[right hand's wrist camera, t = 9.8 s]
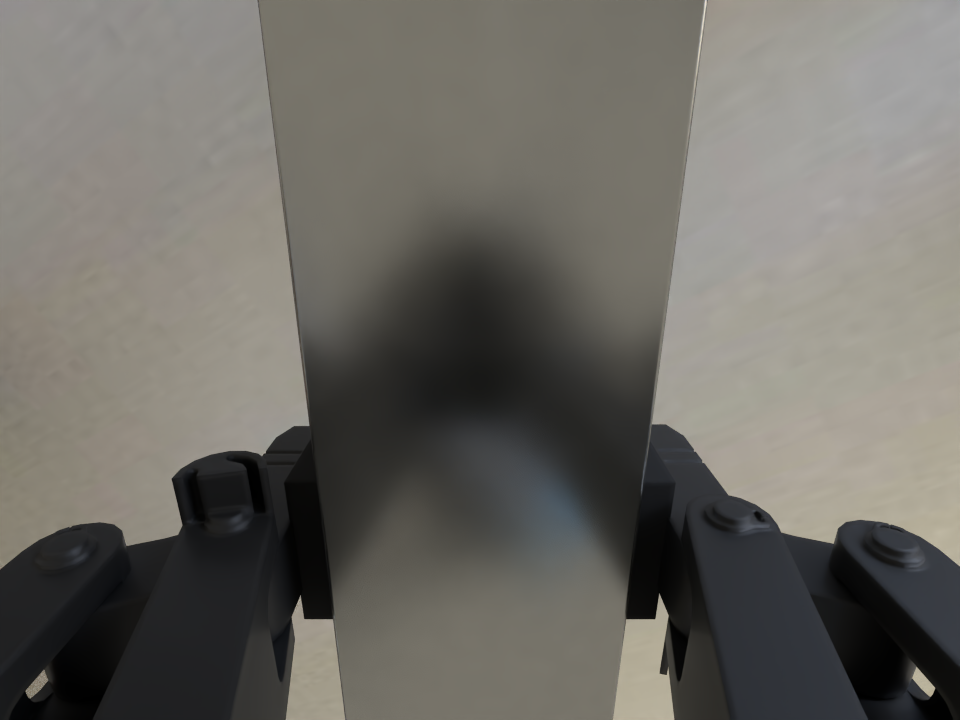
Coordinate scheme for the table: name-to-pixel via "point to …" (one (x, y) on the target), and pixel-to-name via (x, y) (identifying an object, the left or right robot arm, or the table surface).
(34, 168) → the table surface
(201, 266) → the table surface
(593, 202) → the bar
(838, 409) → the table surface
